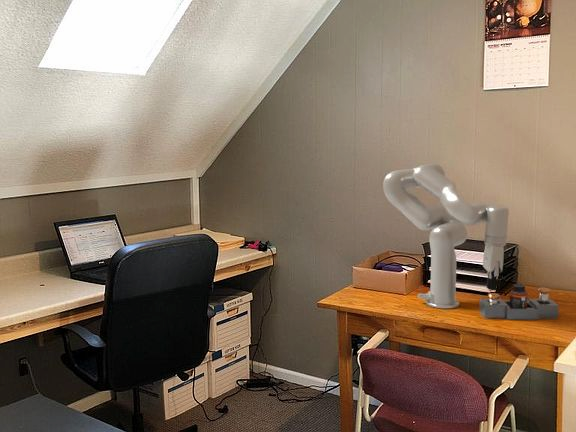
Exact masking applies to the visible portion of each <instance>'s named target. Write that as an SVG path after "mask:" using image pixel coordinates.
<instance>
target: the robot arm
mask: <svg viewBox="0 0 576 432" xmlns="http://www.w3.org/2000/svg"><path fill="white" fill-rule="evenodd" d="M382 185H383V186H382V189H383V193H384V195H385V197H386V199H387V201H388V202H389V203H390V204H391V205H392V206H393V207H394V208H396V209H397V210H398V211H399V212H401V214H403V215H404V216H405V218H407V219H408V221H410V222H412V224H413V225H415V226H416V228H418V229H419V230H421V231H429V230H430V234H429V240H428V241H429V247H430V290H428V292H426V293H417V298H418V299H421V300H425V303H426V305H427V306H429V307H433V308H437V309H455V308H458V307H459V306H460V301H459V300H458V299H456V291H457V290H456V288H457V287H456V286H457V282H456V281H457V256H456V255H457V254H456V249H455V247H457V246H460V245H462V244H463V243H465V242H466V240H467V238H468V230H467V227H466V226H476V225H478V224H483V223H484V224H485V229H484V230H485V232H484V245H485V246H484V251H483V257H482V258H483V259H482V267H483V268H484V269H485V270H486V271H487V278H486V288H487V289H488V290H497V288H498V287H497V286H498V277H500V276H499V273H502V272H503V267H504V255H505V253H504V251H505V250H504V249H505V248H504V247H505V246H507V240H508V239H507V238H508V237H507V236H508V225H509V224H508V223H509V209H508V208H507V207H506V206H502V205H493V204H489V203H485V202H476V203H471V204H470V203H469V202H467V201H466V200H464V199H462V198H461V197H460V196H459V195H458V193H456V189H457V185H456V183H455V182H454V181H452V180H451V179H449V178H448V177H447V176H446V174H445V170H444V168H443V167H442V166H441V165H440V164H437V163H426V164H421V165H419V166H417V167H413V168H407V169H397V170H393V171H391V172H389V173H387V174H386V175H385V177H384V179H383V183H382ZM420 188H422V189H423V190H425V191H426V192H428V193H429V194H431V195H432V196H433V197H435V198H436V199H437V200H439V202H440V203H441V204H442V205H439V204H430V205H427V204H425V203H424V202H423V201H422V200H420V199H419V198H418V197H417V196H416V195H414V194H412V193H411V192H409V191H410V190H414V189H420Z"/></svg>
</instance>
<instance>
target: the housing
mask: <svg viewBox="0 0 576 432" xmlns="http://www.w3.org/2000/svg"><path fill="white" fill-rule="evenodd" d="M559 308H560V307H559V304H557V302H555V301H554V300H553V299H551V298H548V304H540V303H539V298H529V299H527V308H510V299H508V300H507V299H506V300H503V298H498V303H489V298H479V308H478V309H479V310H478V311H479V313H480V314H481V316H482V317H483V318H484V319H506V320H507V321H514V320H515V321H538V320H539V319H540V320H541V319H542V320H545V319H547V320H548V319H549V320H555V319H556V320H558V319H559Z"/></svg>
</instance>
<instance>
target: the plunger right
mask: <svg viewBox="0 0 576 432" xmlns="http://www.w3.org/2000/svg"><path fill="white" fill-rule="evenodd" d="M537 291H538V292H539V298H538V299H539V303H540V304H548V299H549V294H550V293H551V288H549V287H538V289H537Z"/></svg>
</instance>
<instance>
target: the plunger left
mask: <svg viewBox="0 0 576 432" xmlns="http://www.w3.org/2000/svg"><path fill="white" fill-rule="evenodd" d="M500 297H501V296H500V293H495V292H491V293H490V292H489V293H488V294H487V299H489V303H498V299H500Z"/></svg>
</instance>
